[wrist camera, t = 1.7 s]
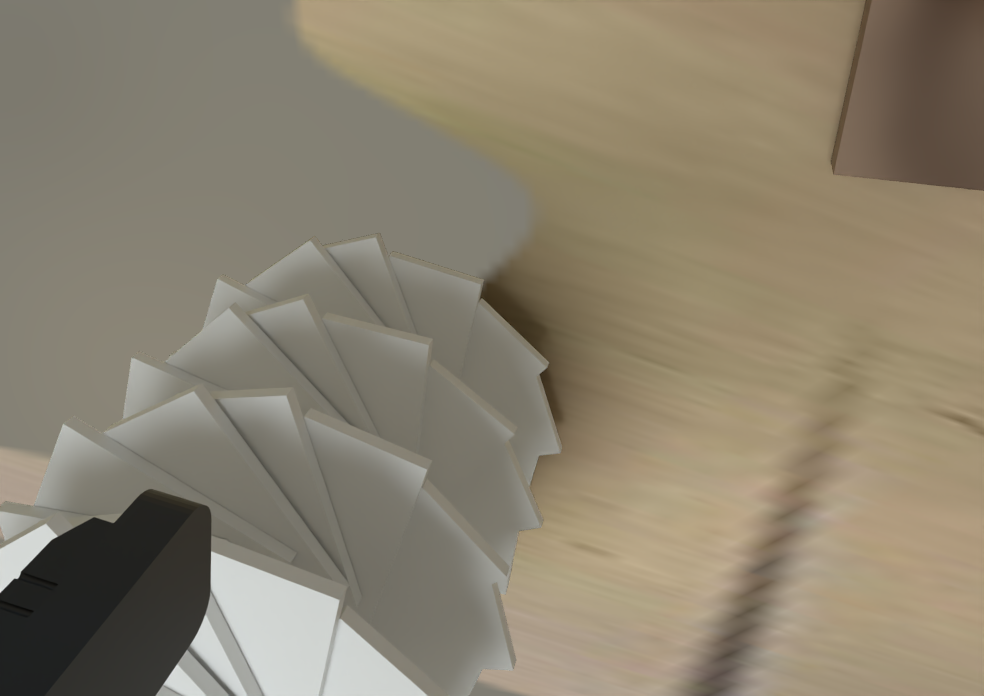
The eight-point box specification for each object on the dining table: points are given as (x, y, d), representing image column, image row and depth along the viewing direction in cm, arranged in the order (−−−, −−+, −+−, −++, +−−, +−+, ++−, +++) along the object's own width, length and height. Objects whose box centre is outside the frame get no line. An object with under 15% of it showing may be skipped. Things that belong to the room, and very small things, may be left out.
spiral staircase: (580, 200, 39) (364, 645, 18) (594, 536, 47) (457, 1115, 26) (191, 199, 44) (-350, 550, 22) (265, 505, 52) (-80, 974, 31)
